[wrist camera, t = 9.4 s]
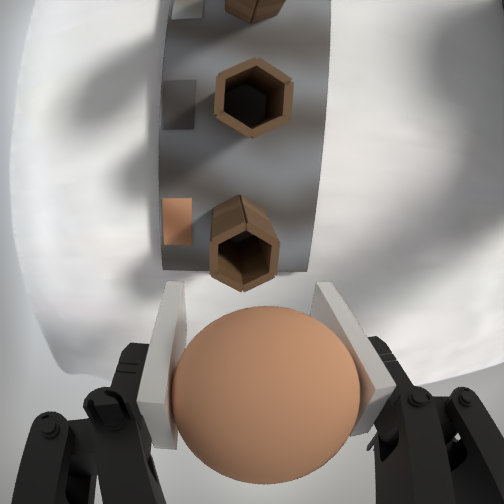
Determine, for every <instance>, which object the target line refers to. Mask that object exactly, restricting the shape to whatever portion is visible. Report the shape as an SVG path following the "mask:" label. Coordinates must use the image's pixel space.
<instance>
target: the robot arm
mask: <svg viewBox="0 0 504 504" xmlns="http://www.w3.org/2000/svg"><path fill="white" fill-rule="evenodd" d="M502 1H503V7H504V0H502ZM310 316H311V317H313V318H315V319H316V320H318V321H320V322H321V323H323V324H324V325H325V326H327V327H328V328H329V329H330V330H332V331H333V332H334V333H335V334H336V335H337V337H338V338H339V339H340V340H341V341H342V342H343V344H344V345H345V347H346V348H347V350H348V351H349V353H350V355H351V357H352V359H353V361H354V364H355V366H356V369H357V373H358V378H359V383H360V404H359V411H358V415H357V419H356V422H355V425H354V427H353V429H352V431H351V433H350V435H349V436H350V437H351V436H355V435H360V434H364V433H368V432H369V430H370V429H371V427H372V426H373V424H374V425H375V427H376V429H377V433H376V434H375V436H374V437H373V439H372V440H371V441H370V443H369V444H368V446H367V451H369V450H370V449H371V448H372V446H373V445H374V449H373V450H374V455H375V479H376V504H504V438H503V436H502V434H501V433H500V431H499V429H498V428H497V426H496V424H495V423H494V421H493V419H492V418H491V417H490V415H489V413H488V411H487V410H486V408H485V407H484V405H483V403H482V402H481V400H480V399H479V397H478V396H477V395H476V394H475V392H473V391H472V390H471V389H469V388H466V387H458V388H456V389H454V390H453V392H452V393H451V395H450V396H449V397H434V396H432V395H431V394H430V393H429V392H428V391H427V390H426V389H424V388H422V387H418V386H414V385H413V384H412V382H411V381H410V379H409V378H408V376H407V375H406V373H405V372H404V370H403V368H402V367H401V365H400V364H399V362H398V361H396V358H395V356H394V355H393V354H392V352H391V350H390V349H389V347H388V346H387V344H386V343H385V342H384V341H382V340H381V339H380V338H378V337H377V336H374V337H367V336H366V334H365V333H364V331H363V330H362V328H361V326H360V325H359V323H358V322H357V320H356V319H355V317H354V315H353V314H352V312H351V311H350V309H349V308H348V306H347V305H346V303H345V302H344V300H343V299H342V297H341V295H340V294H339V292H338V291H337V289H336V288H335V286H334V285H333V283H332V282H316V286H315V291H314V297H313V302H312V307H311V312H310ZM186 335H187V323H186V309H185V293H184V281H167V282H166V286H165V289H164V293H163V296H162V300H161V303H160V307H159V310H158V314H157V318H156V322H155V325H154V329H153V333H152V337H151V341H150V344H142V343H130V344H129V345H128V346H127V347H126V348H125V349H124V350H123V351H122V353H121V356H120V359H119V364H118V365H117V368H116V373H115V374H114V377H113V381H112V384H111V387H102V388H98V389H95V390H94V391H92V392H90V393H89V394H88V396H87V397H86V398H85V400H84V404H83V408H84V410H85V411H86V413H87V415H88V417H89V418H87V419H80V420H70V421H67V420H66V418H64V417H63V416H62V415H61V414H59V413H56V412H45V413H42V414H40V415H39V416H38V417H36V419H35V420H34V422H33V424H32V426H31V429H30V432H29V435H28V438H27V442H26V445H25V449H24V452H23V455H22V459H21V463H20V467H19V471H18V475H17V479H16V483H15V488H14V493H13V497H12V503H11V504H94V498H95V488H96V479H97V475H98V479H99V485H100V490H101V495H102V501H103V504H166V501H165V498H164V495H163V492H162V489H161V486H160V483H159V479H158V476H157V472H156V469H155V465H154V461H153V458H152V456H151V454H150V452H151V443H152V444H153V446H154V448H161V449H177V436H178V428H177V425H176V422H175V419H174V416H173V410H172V402H171V392H172V381H173V376H174V372H175V369H176V367H177V364H178V362H179V359H180V357H181V355H182V354H183V352H184V350H185V344H186ZM457 433H459V435H460V437H461V439H460V440H459V441H458V440H456V438H455V436H456V434H457Z"/></svg>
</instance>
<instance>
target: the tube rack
mask: <svg viewBox="0 0 504 504" xmlns="http://www.w3.org/2000/svg"><path fill="white" fill-rule="evenodd" d="M330 28H331V0H171V3H170V9H169V16H168V24H167V32H166V40H165V50H164V60H163V72H162V85H161V101H160V124H159V211H160V234H161V252H162V266H163V270H186V271H210V275H211V277H212V278H214V279H216V280H218V281H220V282H222V283H224V284H226V285H228V286H230V287H232V288H234V289H235V290H237V291H239V292H242V290H243V291H244V292H246V291H248V290H250V289H252V288H254V287H256V286H258V285H261V284H263V283H265V282H267V281H269V280H271V279H273V278H275V276H274V275H277V272H307V269H308V262H309V256H310V249H311V242H312V235H313V228H314V221H315V213H316V206H317V198H318V189H319V181H320V172H321V162H322V153H323V142H324V131H325V120H326V107H327V93H328V76H329V57H330Z"/></svg>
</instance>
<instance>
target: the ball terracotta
mask: <svg viewBox="0 0 504 504" xmlns="http://www.w3.org/2000/svg"><path fill="white" fill-rule="evenodd" d="M171 402H172V410H173V416H174V419H175V422H176V425H177V428H178V431H179V433H180V435H181V436H182V438H183V440H184V441H185V443H186V445H187V446H188V447H189V449H190V450H191V451H192V452H193V453H194V455H195V456H196V457H197V458H199V459H200V460H201V461H202V462H203V463H204V464H206V465H207V466H208V467H210V468H211V469H213V470H215V471H216V472H218V473H220V474H222V475H224V476H226V477H229V478H232V479H234V480H237V481H241V482H247V483H253V484H276V483H283V482H288V481H292V480H295V479H298V478H301V477H303V476H306V475H308V474H310V473H311V472H313V471H315V470H317V469H318V468H320V467H322V466H323V465H324V464H325V463H327V462H328V461H329V460H330V459H331V458H332V457H334V455H335V454H336V453H337V452H338V451H339V450H340V449H341V447H342V446H343V445H344V443H345V442H346V441H347V439H348V437H349V435H350V433H351V431H352V429H353V427H354V425H355V422H356V419H357V415H358V411H359V404H360V383H359V378H358V373H357V369H356V366H355V364H354V361H353V359H352V357H351V355H350V353H349V351H348V350H347V348H346V347H345V345H344V344H343V342H342V341H341V340H340V339H339V338H338V337H337V335H336V334H335V333H334V332H333V331H332V330H330V329H329V328H328V327H327V326H325V325H324V324H323V323H321V322H320V321H318V320H316V319H315V318H313V317H311V316H309V315H306V314H304V313H301V312H299V311H296V310H292V309H289V308H283V307H273V306H260V307H251V308H245V309H241V310H238V311H235V312H232V313H229V314H227V315H224V316H222V317H220V318H219V319H217V320H215V321H213V322H212V323H210V324H209V325H208V326H206V327H205V328H204V329H203V330H202V331H201V332H199V333H198V334H197V335H196V336H195V337H194V338H193V340H192V341H191V342H190V343H189V345H188V346H187V347H186V349H185V350H184V352H183V354H182V355H181V357H180V359H179V362H178V364H177V367H176V369H175V372H174V376H173V381H172V392H171Z"/></svg>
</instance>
